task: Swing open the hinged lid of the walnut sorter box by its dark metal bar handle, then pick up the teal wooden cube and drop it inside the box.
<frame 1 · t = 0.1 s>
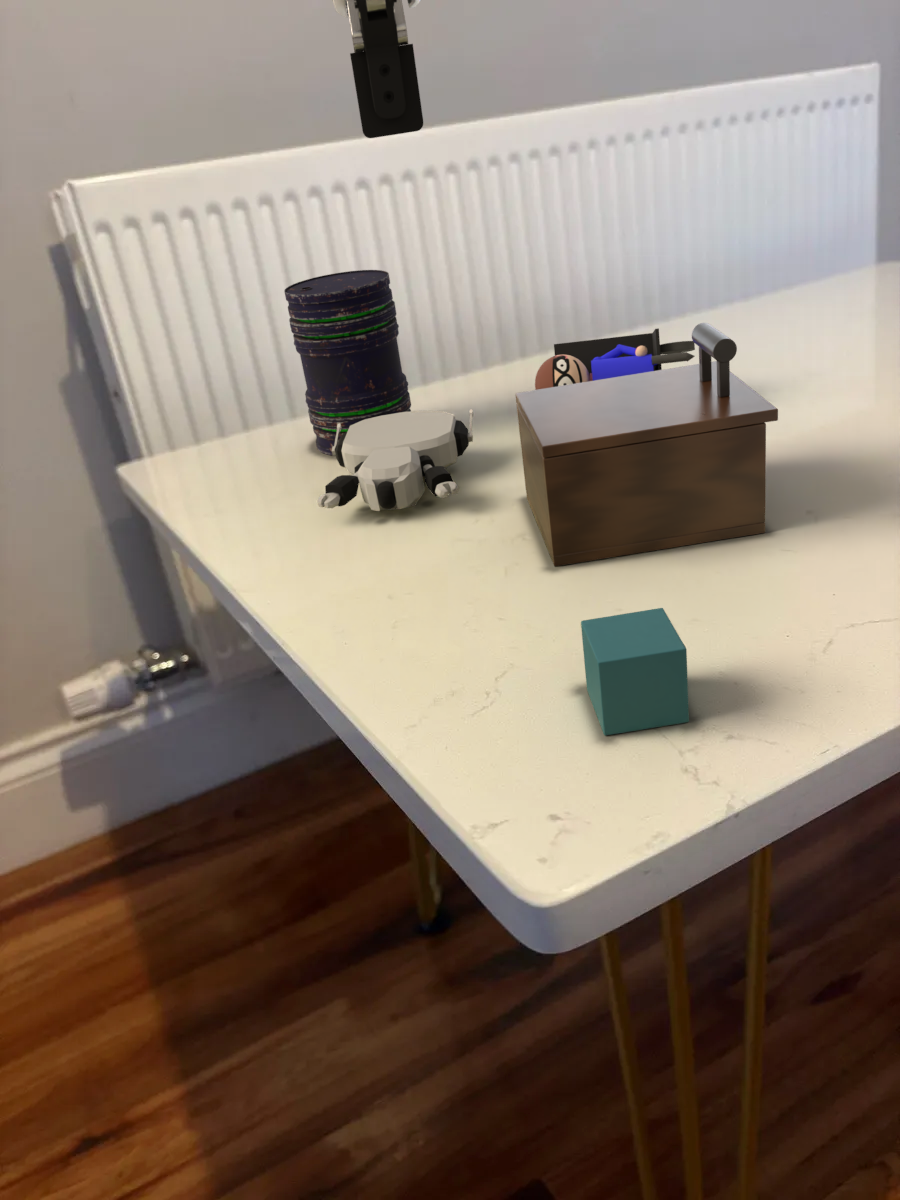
hand: (391, 129, 58), 28 cm above the table, tool pointing down, fingers open, 9 cm apart
robot toy: (402, 490, 87), on the table
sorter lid: (635, 377, 71), point 10 cm above the table, hinge at 0.0°
sorter box: (637, 514, 75), on the table
cube: (636, 705, 54), on the table
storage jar: (365, 440, 100), on the table
character figurine: (619, 416, 96), on the table
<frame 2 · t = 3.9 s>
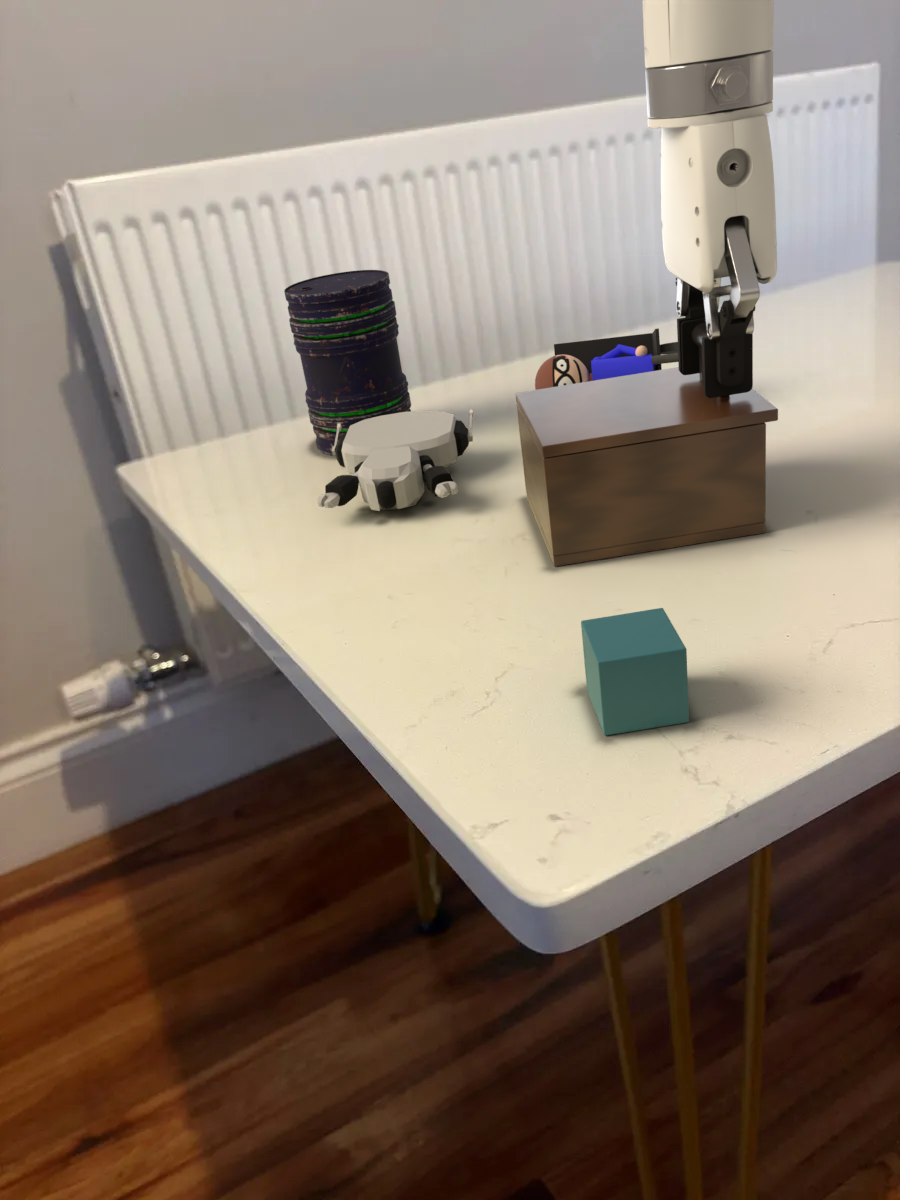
hand: (714, 379, 71), 9 cm above the table, tool pointing down, fingers closed on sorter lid, 5 cm apart
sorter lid: (635, 377, 71), point 10 cm above the table, hinge at 0.0°, touching gripper
everything else where it was.
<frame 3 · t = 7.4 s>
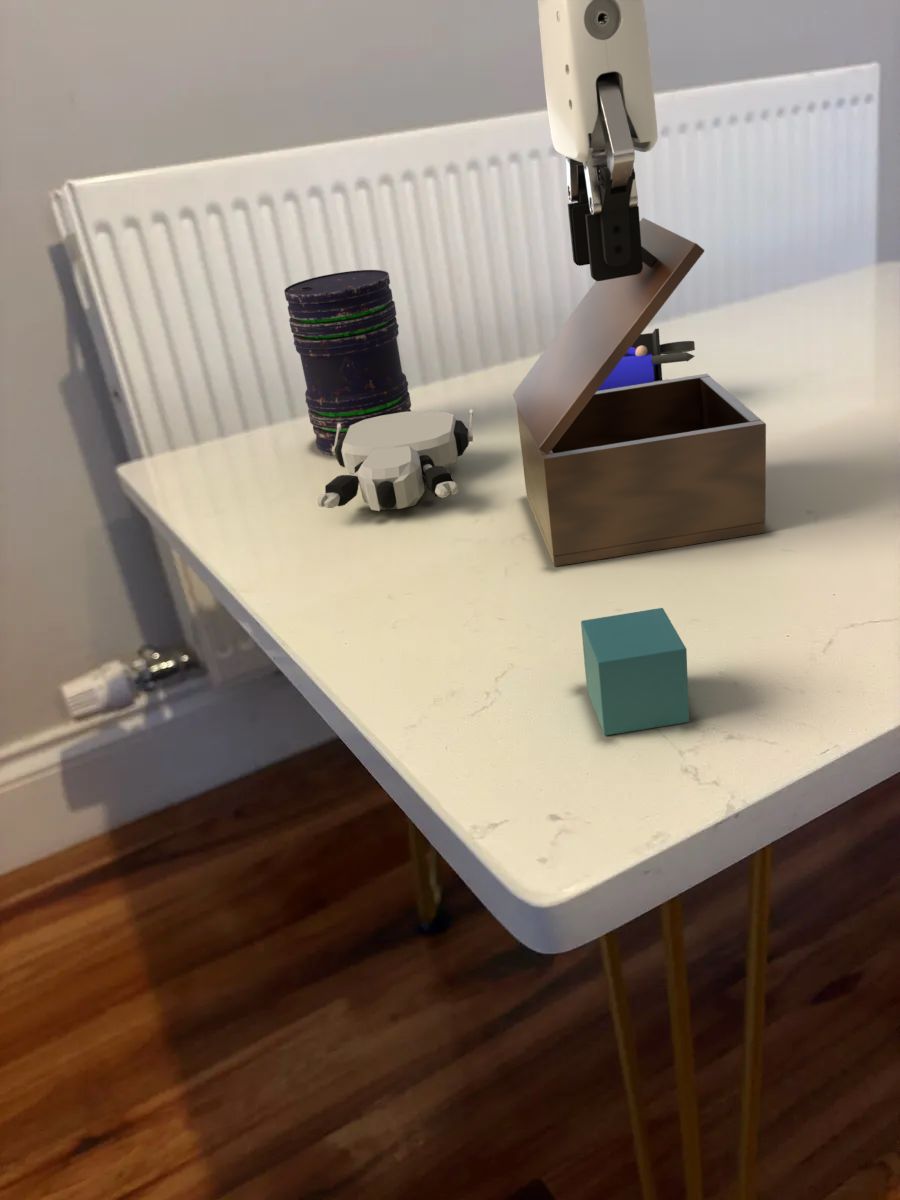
hand: (606, 266, 67), 18 cm above the table, tool pointing down, fingers closed on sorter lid, 5 cm apart
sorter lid: (574, 314, 68), point 15 cm above the table, hinge at 46.6°, touching gripper
everything else where it was.
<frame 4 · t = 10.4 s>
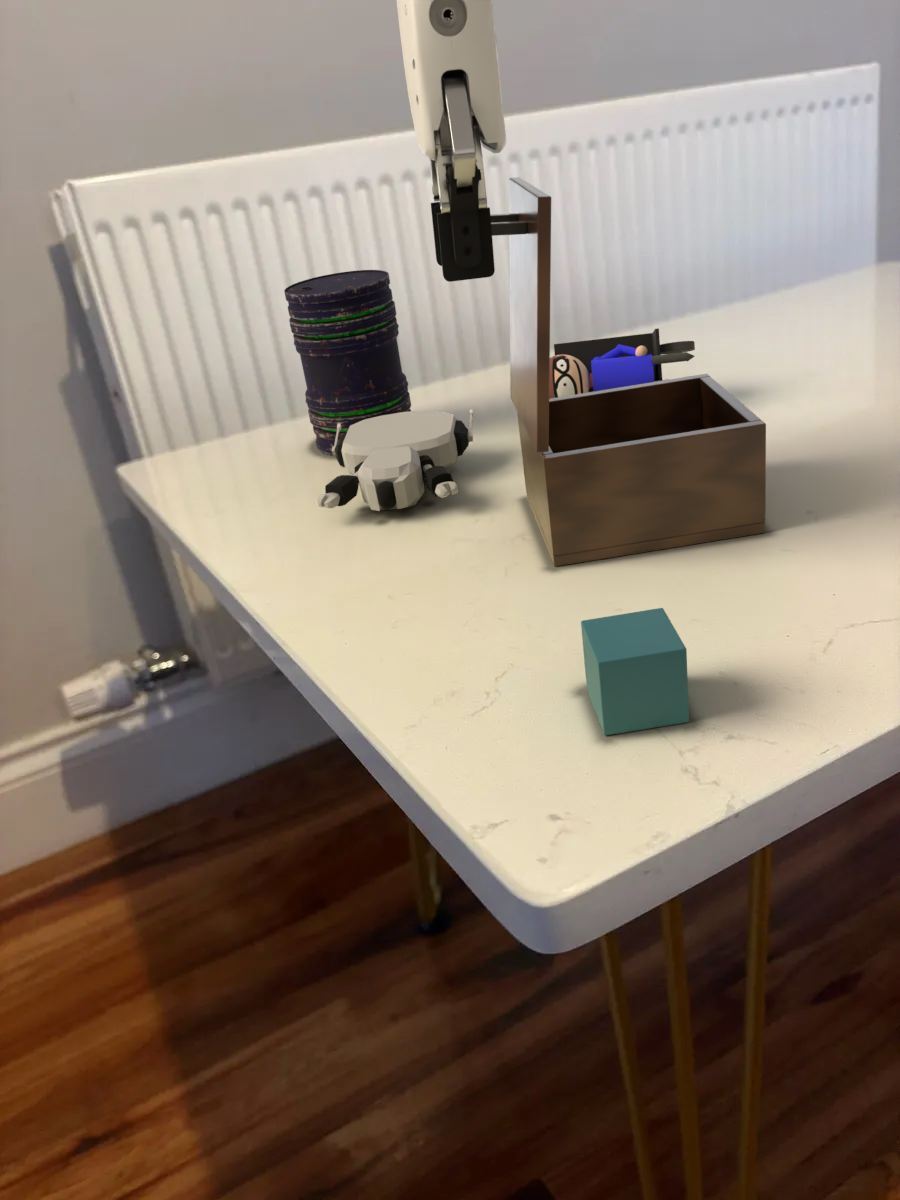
hand: (464, 267, 66), 19 cm above the table, tool pointing down, fingers closed on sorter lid, 5 cm apart
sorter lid: (498, 312, 68), point 16 cm above the table, hinge at 84.0°, touching gripper
everything else where it was.
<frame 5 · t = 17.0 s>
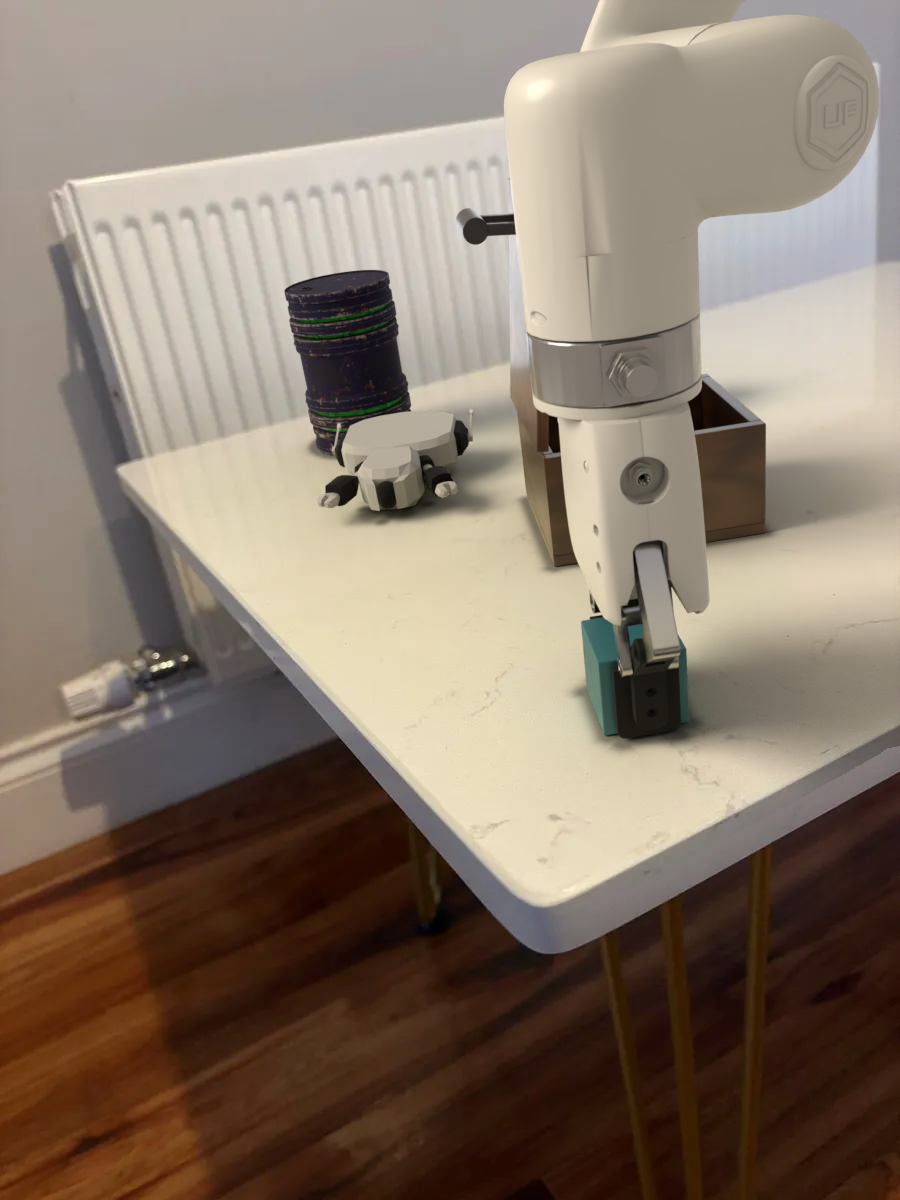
hand: (635, 700, 54), 0 cm above the table, tool pointing down, fingers closed on cube, 4 cm apart
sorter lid: (497, 312, 68), point 16 cm above the table, hinge at 84.2°
cube: (636, 705, 54), on the table, touching gripper
everything else where it was.
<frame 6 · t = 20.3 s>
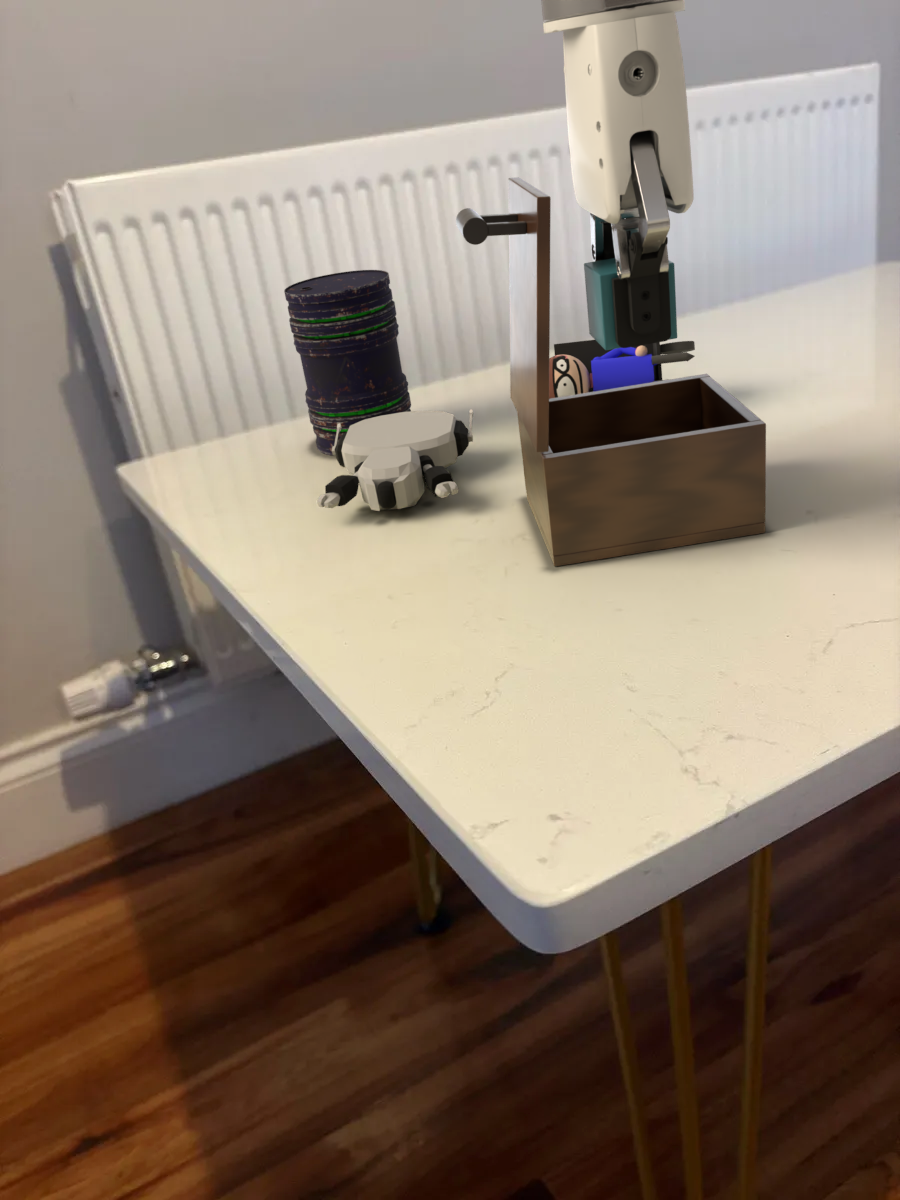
hand: (632, 330, 63), 15 cm above the table, tool pointing down, fingers closed on cube, 4 cm apart
cube: (632, 336, 63), point 15 cm above the table, touching gripper
everything else where it was.
when the fingers open (7 cm above the table, at t = 23.4 s): cube drops 6 cm, resting on sorter box.
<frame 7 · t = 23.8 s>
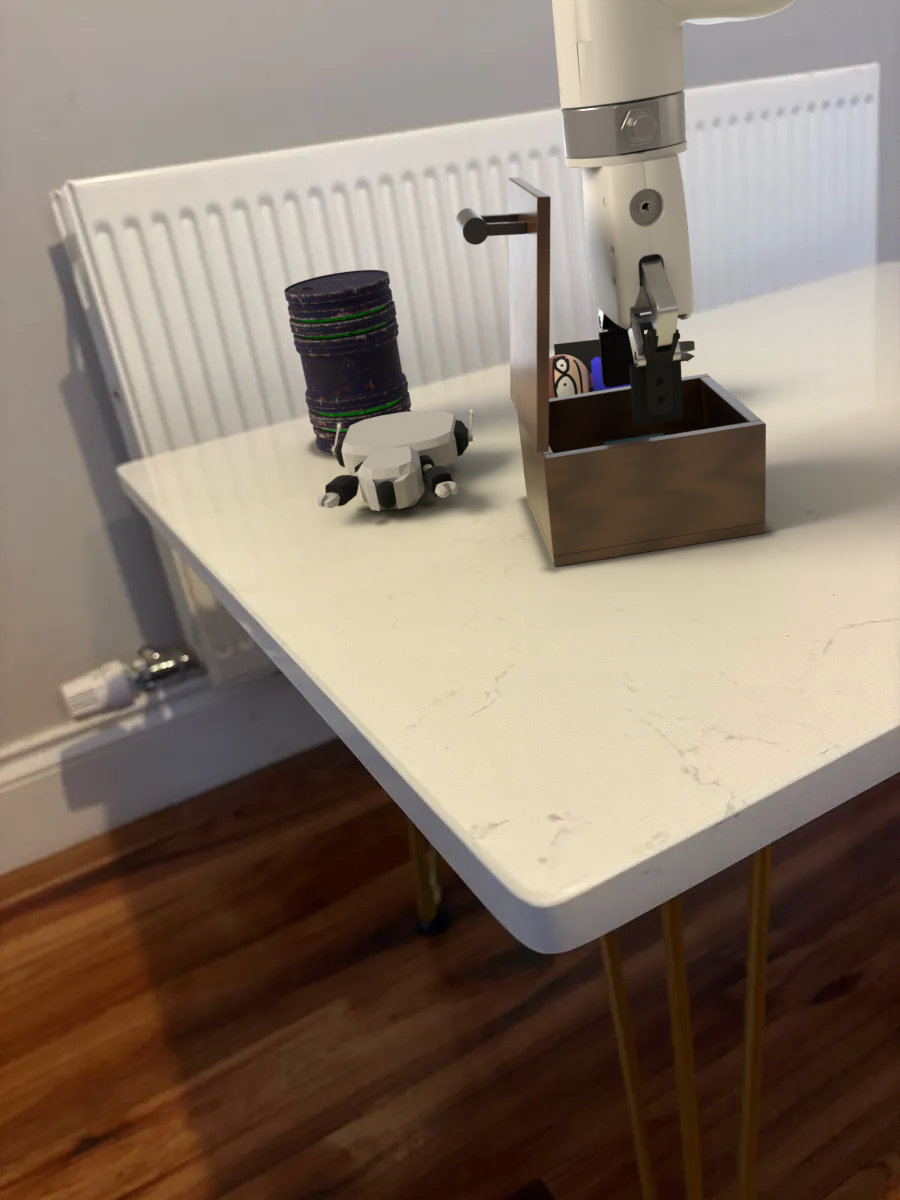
hand: (640, 401, 71), 9 cm above the table, tool pointing down, fingers open, 8 cm apart
cube: (643, 503, 75), point 1 cm above the table, touching sorter box
everything else where it was.
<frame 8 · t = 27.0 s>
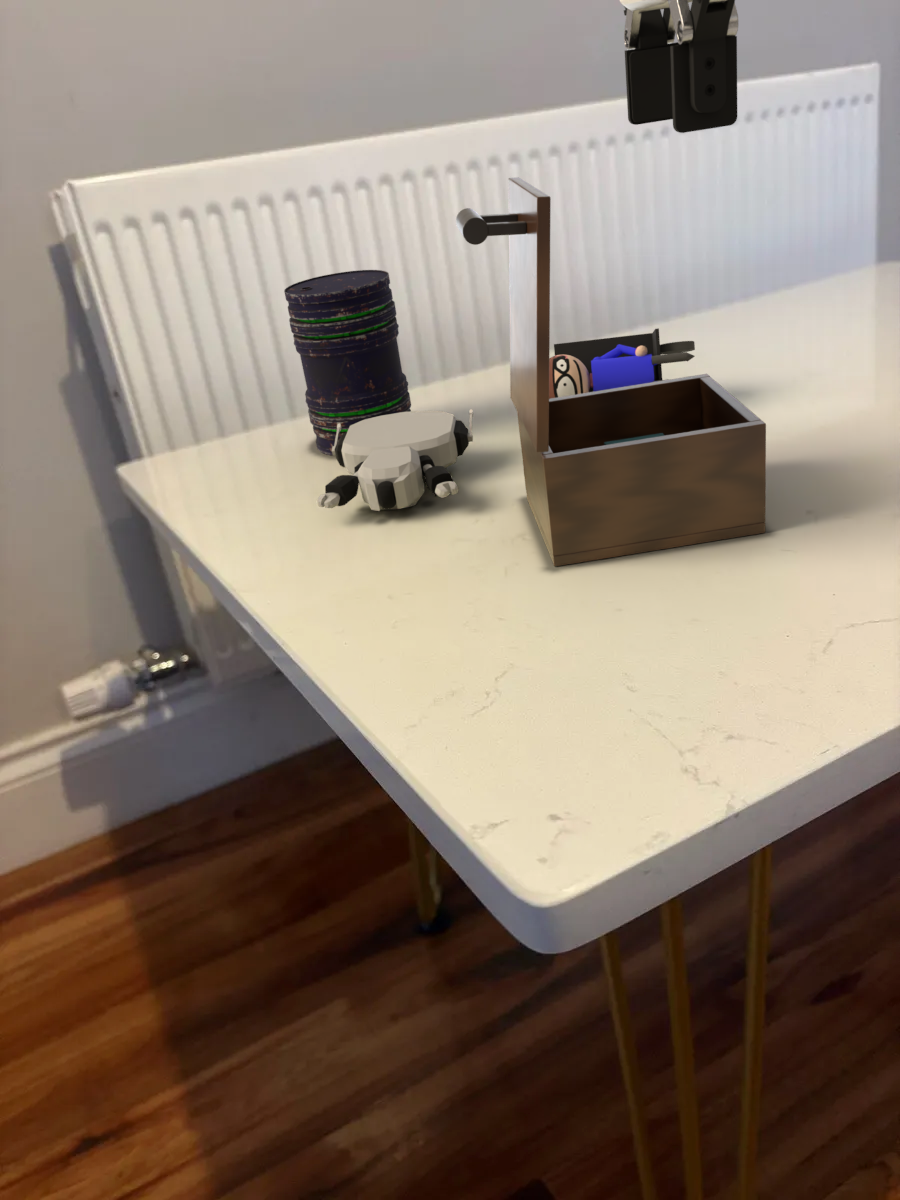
hand: (678, 124, 57), 26 cm above the table, tool pointing down, fingers open, 9 cm apart
nothing on the table moved.
at the end: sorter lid at +84° (first picture: +0°); cube inside the target area in the sorter box (0.5 cm from its centre), point 0.8 cm above the sorter box's base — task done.
